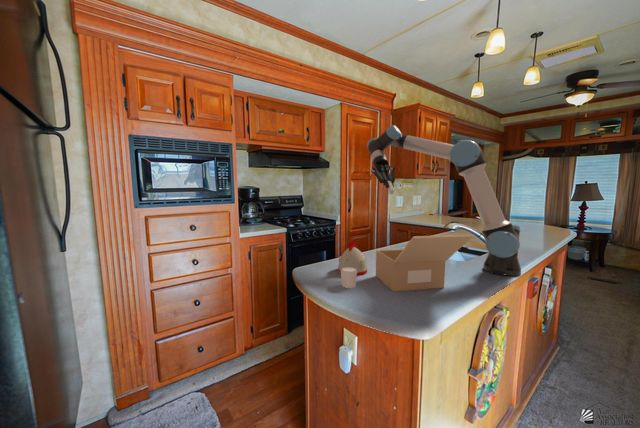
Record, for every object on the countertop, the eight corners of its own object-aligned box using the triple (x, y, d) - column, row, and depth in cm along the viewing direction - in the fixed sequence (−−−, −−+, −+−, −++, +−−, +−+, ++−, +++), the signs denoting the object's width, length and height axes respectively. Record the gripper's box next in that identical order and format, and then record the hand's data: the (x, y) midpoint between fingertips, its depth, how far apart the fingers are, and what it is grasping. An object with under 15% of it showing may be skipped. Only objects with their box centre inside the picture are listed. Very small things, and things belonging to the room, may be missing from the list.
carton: (375, 276, 121) (376, 250, 120) (420, 273, 125) (421, 248, 123) (393, 291, 103) (394, 261, 102) (444, 288, 107) (445, 259, 106)
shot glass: (354, 289, 105) (355, 272, 104) (338, 287, 107) (338, 270, 107) (358, 283, 111) (358, 267, 111) (342, 281, 114) (343, 266, 113)
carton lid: (413, 236, 88) (413, 238, 87) (472, 234, 91) (473, 236, 91) (394, 261, 102) (394, 263, 101) (446, 258, 105) (446, 260, 105)
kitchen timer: (332, 272, 126) (333, 241, 125) (346, 265, 138) (346, 237, 136) (359, 278, 119) (360, 245, 117) (371, 270, 130) (372, 240, 128)
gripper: (388, 165, 146) (401, 197, 132) (366, 165, 144) (377, 197, 129) (393, 155, 140) (407, 186, 126) (369, 154, 138) (381, 186, 124)
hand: (392, 192), depth 128 cm, fingers closed
